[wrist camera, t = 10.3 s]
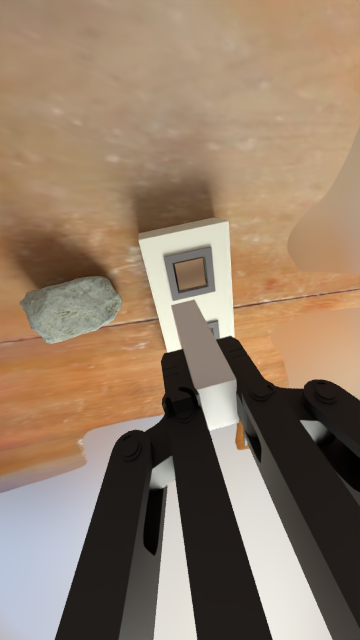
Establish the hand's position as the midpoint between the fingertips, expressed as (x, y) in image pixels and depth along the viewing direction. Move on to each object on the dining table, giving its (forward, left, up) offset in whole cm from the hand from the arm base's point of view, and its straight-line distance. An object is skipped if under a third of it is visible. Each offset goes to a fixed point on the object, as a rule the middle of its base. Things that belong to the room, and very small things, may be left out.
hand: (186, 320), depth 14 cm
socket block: (+10, +3, -24) cm, 26 cm away
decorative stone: (+6, -15, -24) cm, 29 cm away
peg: (+4, +3, -24) cm, 24 cm away
